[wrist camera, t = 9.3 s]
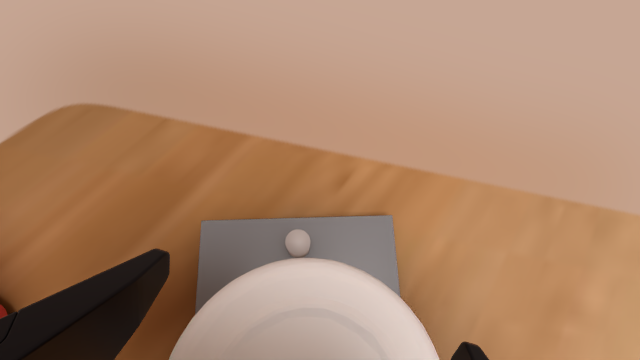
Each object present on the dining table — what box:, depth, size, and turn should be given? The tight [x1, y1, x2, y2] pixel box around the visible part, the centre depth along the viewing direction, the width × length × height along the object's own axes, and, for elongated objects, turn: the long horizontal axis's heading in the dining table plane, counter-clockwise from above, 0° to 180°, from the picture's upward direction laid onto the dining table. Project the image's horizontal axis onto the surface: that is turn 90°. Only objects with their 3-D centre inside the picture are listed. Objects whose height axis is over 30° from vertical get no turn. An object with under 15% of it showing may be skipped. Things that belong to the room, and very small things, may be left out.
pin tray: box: [195, 215, 400, 315], centre depth 17 cm, size 11×11×4 cm
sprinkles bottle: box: [169, 258, 439, 360], centre depth 11 cm, size 5×5×13 cm
